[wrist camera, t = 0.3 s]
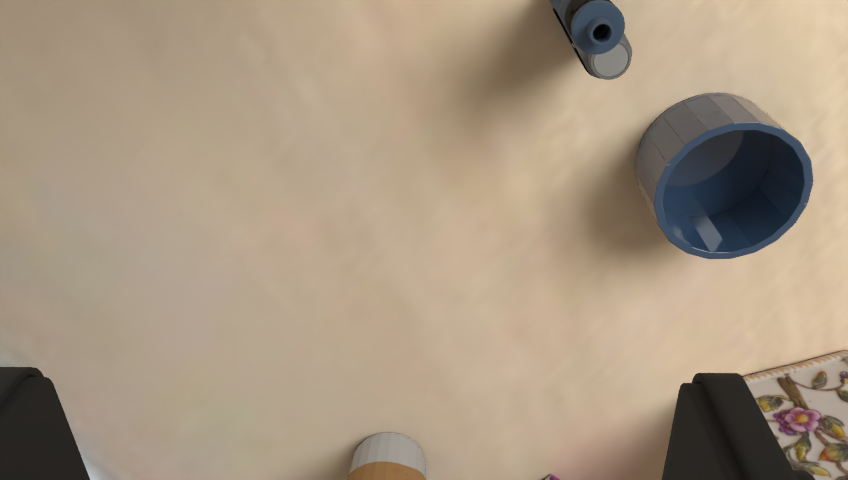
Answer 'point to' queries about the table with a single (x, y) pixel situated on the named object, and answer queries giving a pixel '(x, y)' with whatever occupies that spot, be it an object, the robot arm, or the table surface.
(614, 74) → the vaping device
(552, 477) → the candy bar box
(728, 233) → the pen cup
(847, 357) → the decorative jar
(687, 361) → the table surface
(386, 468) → the coffee cup
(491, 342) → the table surface
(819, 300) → the table surface
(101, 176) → the table surface
